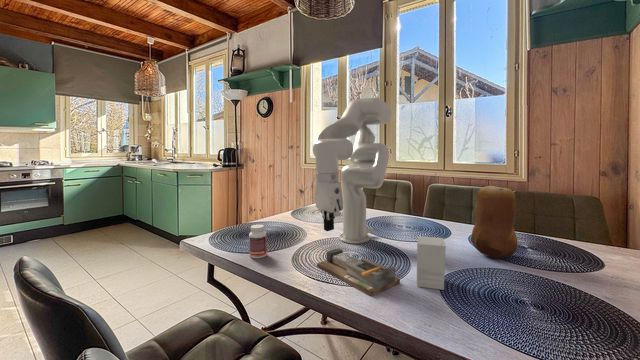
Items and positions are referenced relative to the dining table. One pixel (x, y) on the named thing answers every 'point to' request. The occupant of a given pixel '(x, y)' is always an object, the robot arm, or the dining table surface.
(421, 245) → the supplement box
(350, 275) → the wooden board
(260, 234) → the pill bottle
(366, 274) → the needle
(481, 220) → the butternut squash
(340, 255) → the grey and white block
